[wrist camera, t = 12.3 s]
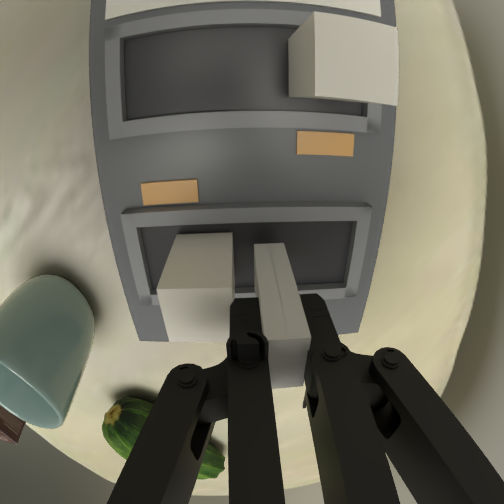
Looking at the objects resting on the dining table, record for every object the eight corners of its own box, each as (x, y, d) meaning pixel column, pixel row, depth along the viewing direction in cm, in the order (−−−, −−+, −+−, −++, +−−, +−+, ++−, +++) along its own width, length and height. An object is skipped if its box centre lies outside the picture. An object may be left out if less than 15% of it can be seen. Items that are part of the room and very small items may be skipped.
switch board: (107, -13, 10) (88, -27, 8) (376, -16, 11) (397, -29, 8) (145, 322, 22) (137, 348, 19) (350, 315, 22) (361, 339, 20)
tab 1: (176, 234, 16) (156, 289, 11) (232, 232, 16) (231, 287, 12) (183, 280, 17) (169, 342, 13) (234, 279, 17) (235, 341, 13)
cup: (63, 242, 18) (-15, 337, 9) (124, 320, 22) (86, 428, 13) (14, 280, 20) (-46, 360, 11) (68, 343, 23) (30, 430, 14)
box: (14, 406, 31) (0, 440, 24) (-11, 381, 28) (-28, 416, 22) (32, 407, 30) (18, 445, 24) (5, 380, 27) (-14, 419, 21)
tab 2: (288, 39, 11) (314, 11, 7) (348, 45, 11) (397, 27, 7) (288, 96, 13) (314, 95, 8) (348, 101, 13) (398, 106, 8)
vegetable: (115, 456, 18) (230, 504, 28) (153, 393, 24) (250, 461, 33) (80, 429, 22) (190, 487, 32) (113, 378, 28) (209, 448, 37)
